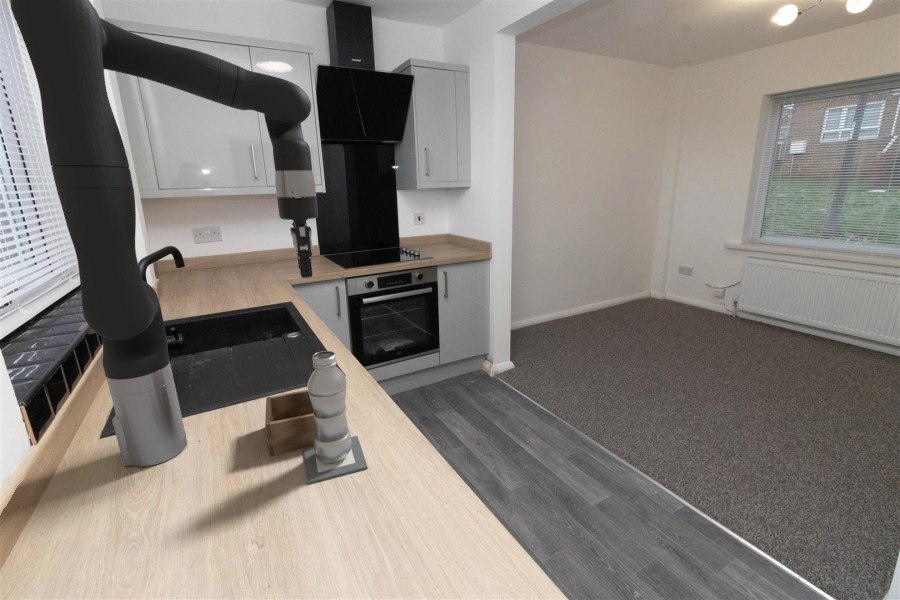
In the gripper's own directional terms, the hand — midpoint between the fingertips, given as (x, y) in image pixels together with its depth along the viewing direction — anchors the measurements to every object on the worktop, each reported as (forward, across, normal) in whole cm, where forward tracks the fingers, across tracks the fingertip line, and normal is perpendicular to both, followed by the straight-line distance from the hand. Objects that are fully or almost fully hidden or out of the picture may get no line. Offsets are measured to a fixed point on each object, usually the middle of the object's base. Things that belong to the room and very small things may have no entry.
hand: (305, 273), depth 87 cm
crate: (+30, +12, -5) cm, 33 cm away
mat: (+30, +24, 0) cm, 38 cm away
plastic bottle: (+30, +23, 0) cm, 38 cm away
